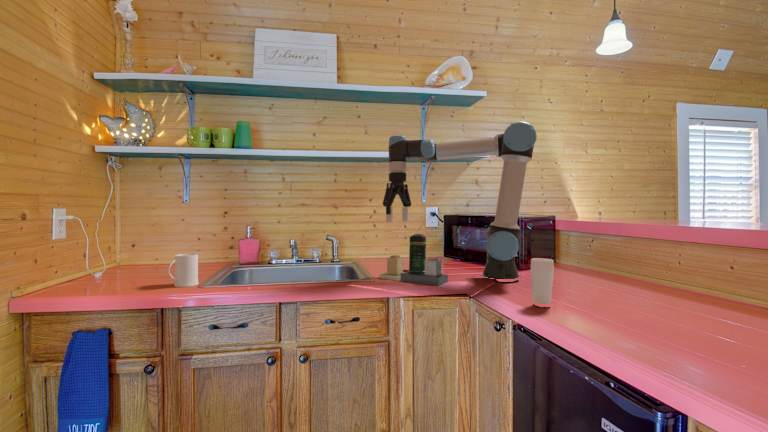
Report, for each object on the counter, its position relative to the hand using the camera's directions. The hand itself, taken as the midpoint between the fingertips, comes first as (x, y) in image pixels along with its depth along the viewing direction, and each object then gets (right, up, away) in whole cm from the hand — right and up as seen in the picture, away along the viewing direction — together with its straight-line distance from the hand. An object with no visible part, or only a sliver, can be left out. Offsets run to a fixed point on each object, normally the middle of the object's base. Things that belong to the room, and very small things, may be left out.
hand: (397, 221), depth 159 cm
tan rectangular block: (-1, -24, +1) cm, 24 cm away
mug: (-85, -25, -15) cm, 89 cm away
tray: (-1, -25, +1) cm, 25 cm away
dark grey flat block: (+10, -25, -8) cm, 28 cm away
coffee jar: (+10, -25, +18) cm, 32 cm away
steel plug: (+14, -24, -10) cm, 30 cm away
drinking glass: (+44, -26, -42) cm, 66 cm away
